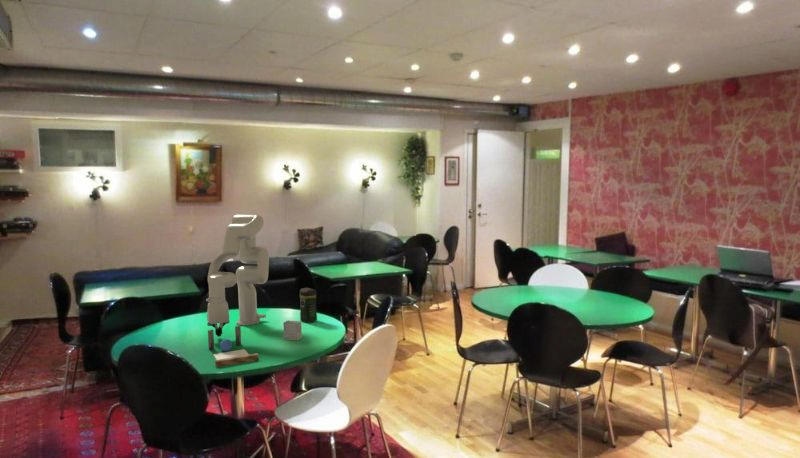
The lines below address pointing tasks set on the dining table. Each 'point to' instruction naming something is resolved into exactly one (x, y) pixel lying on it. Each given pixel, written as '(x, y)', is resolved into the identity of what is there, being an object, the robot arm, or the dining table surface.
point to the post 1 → (211, 339)
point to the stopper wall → (236, 360)
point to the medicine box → (292, 330)
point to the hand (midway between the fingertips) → (218, 335)
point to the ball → (225, 345)
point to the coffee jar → (308, 305)
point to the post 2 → (238, 335)
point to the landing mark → (230, 354)
